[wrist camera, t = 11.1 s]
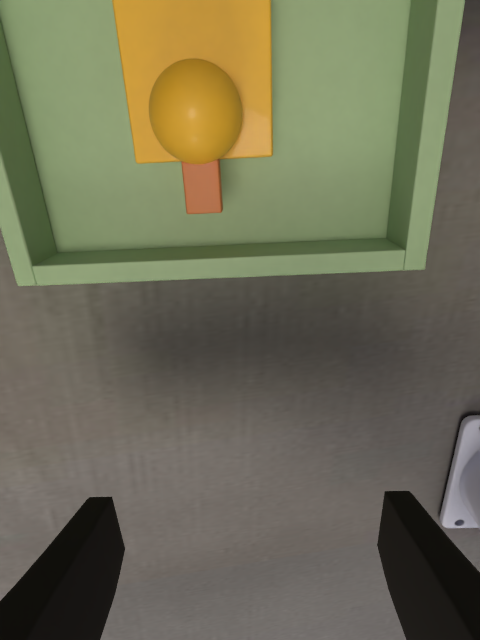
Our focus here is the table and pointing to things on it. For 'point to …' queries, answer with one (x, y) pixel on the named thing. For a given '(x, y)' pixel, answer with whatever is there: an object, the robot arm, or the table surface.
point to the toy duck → (197, 86)
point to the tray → (236, 174)
